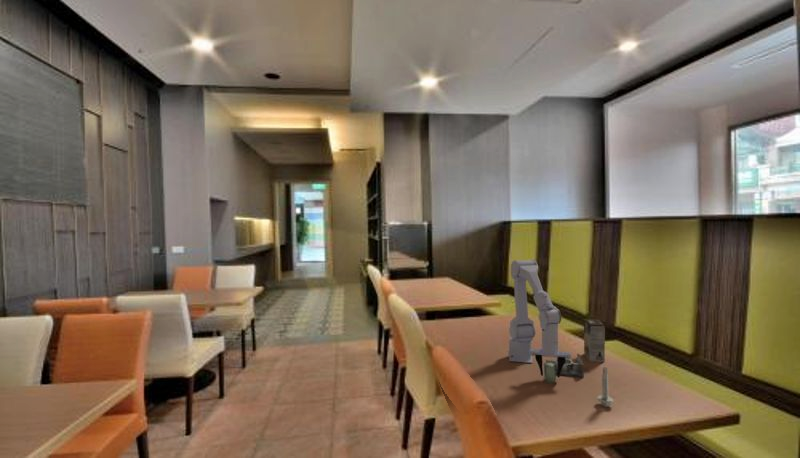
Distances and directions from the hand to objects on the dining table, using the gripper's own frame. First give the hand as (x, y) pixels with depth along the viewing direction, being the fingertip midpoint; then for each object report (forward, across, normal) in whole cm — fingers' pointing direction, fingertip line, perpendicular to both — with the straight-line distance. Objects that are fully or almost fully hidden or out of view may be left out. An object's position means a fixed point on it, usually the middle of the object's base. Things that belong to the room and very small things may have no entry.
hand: (550, 375), depth 143 cm
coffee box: (+2, +20, +29) cm, 35 cm away
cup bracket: (+2, +6, +12) cm, 14 cm away
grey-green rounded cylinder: (+2, 0, 0) cm, 2 cm away
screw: (+2, +16, -15) cm, 22 cm away
